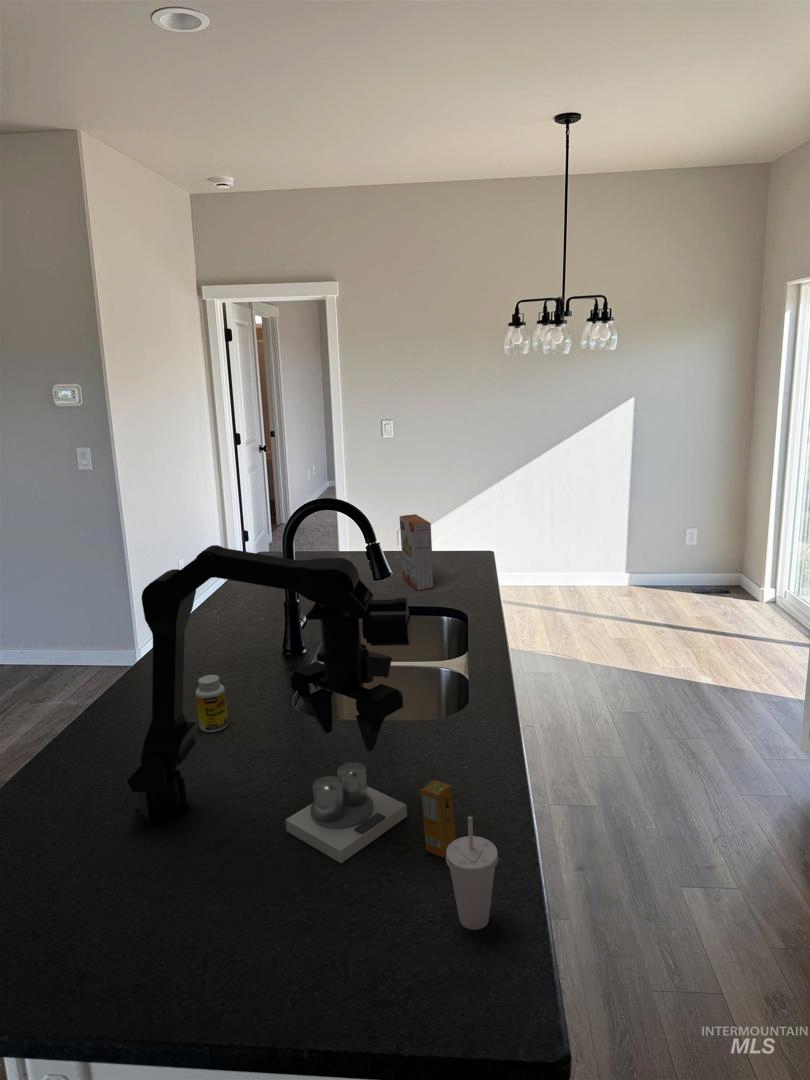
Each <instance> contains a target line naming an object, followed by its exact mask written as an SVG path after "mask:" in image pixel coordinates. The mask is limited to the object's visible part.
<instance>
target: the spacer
mask: <svg viewBox="0 0 810 1080" xmlns="http://www.w3.org/2000/svg"><path fill="white" fill-rule="evenodd" d="M312 793H313V802H314V807H315V817H316V819H317V820H318V821H320V822H324V823H331V822H335V821H338V820H340V819H341V818H342V817H343V816H344V799H343V785H342V780H341V779H339V778H338V776H333V775H332V776H331V775H329V776H321V777H319V778H318V779H315V780H314V782H313V784H312Z"/></svg>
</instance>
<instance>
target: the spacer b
mask: <svg viewBox="0 0 810 1080" xmlns="http://www.w3.org/2000/svg"><path fill="white" fill-rule="evenodd" d="M366 770H367V769H366V766H365V765H364V764H362V763H360V762H347V763H345V764H342V765H340V766H339V767H338V768H337V770H336V773H337V776H336V777H338V778H339V779H341V780H342V785H343V799H344V806H346V807H358V806H361V805H363V804H364V803H366V801H367V800H368V791H367V786H368V783H367V782H368V781H367V771H366Z"/></svg>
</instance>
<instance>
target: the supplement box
mask: <svg viewBox="0 0 810 1080" xmlns="http://www.w3.org/2000/svg"><path fill="white" fill-rule="evenodd" d="M420 792H421V793H420V794H421V806H422V816H423V817H422V818H423V828H424V829H423V831H424V839H425V849H426V850H425V851H426V852H428V853H431V854H433V855H435V856H437V857H440V858H442V859H444V858H446V850H447V847H448V846H449V844H450V843H452V842H453V841H454V840H456V839H457V838H456V829H455V828H456V827H455V826H456V825H455V816H454V800H453V789H452V785H451V784H447V783H444V782H441V781H439V780H435V779H434V780H432V781H431V782H429V783H428V784H427V785H425V786H424V787H423V788H422V789H420Z"/></svg>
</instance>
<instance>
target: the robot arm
mask: <svg viewBox="0 0 810 1080" xmlns="http://www.w3.org/2000/svg"><path fill="white" fill-rule="evenodd" d="M213 578H214V579H215V578H216V579H222V580H227V581H234V582H239V583H246V584H251V585H252V584H253V585H257V586H263V587H264V586H265V587H267V588H269V587H270V588H273V589H274V588H275V589H282V590H288V591H291V592H294V593H297V594H298V595H300V596H302V597H303V598H305V600H308V601H311V602H314V605H313V606H311V607H310V608H309V610H308V611H307V613H306V615H305V619H306V620H307V621H309V620H310V621H313V620H314V621H315V620H316V621H317V620H318V621H320V623H319V624H320V637H321V646H322V648H321V649H322V651H321V652H319V653H316V659H317V661H314V662H312V663H310V664H307V665H305V666H303V667H301V668H298V669H296V670H295V671H294V672H293V674H292V676H291V677H290V680H291V681H290V682H291V683H290V684H291V689H292V690H294V691H295V692H297V695H298V697H299V698H301V699H302V701H303V702H304V703H305V705H306V706H307V708H308V709H309V710H310V713H312V715H313V716H314V718H315V719H316V720H317V722H318V723H319V726H320V727H321V729H322V730H323V732H324V733H325V734H329V733H331V732H332V731H333V700H332V699H333V698H332V697H333V694H336V695H338V696H345V697H347V698H350V699H353V700H355V701H356V702H355V708H356V709H355V710H356V711H357V713H358V714H357V715H356V716H355V718H356V722H357V724H358V727H359V731H360V733H361V735H360V736H361V738H362V741H363V743H364V746H365V749H366V751H367V752H369V753H371V752H372V751H374V749H375V746H376V743H377V741H378V737H379V735H380V732H381V727H382V725H383V722H384V720H385V719H386V717H388V716H390V715H391V714H394V713H395V712H397V711H399V710H400V709H402V708H404V700H403V699H404V698H403V692H402V691H400V690H399V689H397V688H394V687H392V686H388V685H385V684H383V683H380V684H378V685H375V686H373V687H371V688H366V687H364V684H369V683H372V682H373V681H374V677H378V678H379V677H383V678H385V679H387V678H389V676H390V670H391V665H392V659H393V658H392V656H389V655H385V654H382V653H379V652H375V651H371V650H369V649H368V648H367V646H366V644H363V643H362V638H361V629H362V637H363V640H366V641H365V642H366V643H367V644H370V645H371V646H373V647H375V646H377V647H379V646H380V647H381V646H386V647H387V646H410V645H411V642H412V639H411V638H412V615H411V614H410V609H409V605H408V599H407V597H399V598H392V599H374V597H375V596H374V593H372V592H371V590H370V589H369V588H368V587H367V586H366V584H365V583H364V582H363V581H362V580H361V578H360V574H359V572H358V569H357V567H356V566H355V565H354V563H353V561H350V560H348V559H346V558H343V557H318V558H311V559H305V560H304V559H300V560H299V559H292V558H285V557H282V556H281V557H279V556H273V555H267V554H261V553H255V552H250V551H244V550H238V549H232V548H231V549H230V548H227V547H223V546H221V545H217V544H214V545H210V546H208V547H206V548H205V549H204V550H202V551H201V552H200V553H198V554H197V555H196V558H194V559H193V560H192V561H190V562H189V563H188V564H187V565H185V566H184V567H182V568H181V569H178V568H177V569H174V568H173V569H170V570H167V571H165V572H164V573H162V574H161V575H160V576H158V577H157V578H155V579H154V580H153V581H151V582H150V583H148V585H146V586H145V588H143V590H142V593H141V604H142V610H143V615H144V620H145V623H146V624H147V626H148V628H149V630H150V632H151V634H152V661H151V662H152V670H151V671H152V673H151V674H152V676H151V677H152V678H151V679H152V680H151V720H150V724H149V726H148V730H147V733H146V734H145V738H144V739H143V740H144V741H143V745H142V749H141V753H140V758H139V759H140V761H139V764H138V766H137V768H136V769H135V770H134V772H133V773H132V774H131V775H130V776H129V777H128V779H127V781H126V782H127V784H128V786H129V788H130V789H131V792H135V793H136V797H137V805H138V808H136V809H135V810H134V814H135V815H136V816H137V817H139V818H140V819H142V820H143V821H144V822H146V823H147V824H148V825H150V826H152V827H153V828H158V827H161V826H162V825H164V824H166V823H168V822H169V821H171V820H173V819H175V818H177V817H179V816H180V815H182V814H184V813H186V812H188V811H190V810H191V805H190V804H189V803H187V799H188V798H187V791H186V783H185V778H184V777H182V774H181V773H182V772H181V771H180V770H178V769H179V768H180V766H181V764H182V763H183V762H184V760H185V759H186V758H187V757H188V755H189V754H190V752H191V751H192V750H193V748H194V747H195V745H196V744H197V742H196V739H195V731H196V730H195V729H196V726H197V725H196V722H194V721H190V722H188V720H187V719H186V717H185V716H184V709H183V707H184V669H185V668H184V667H185V632H186V627H187V625H188V621H189V618H190V616H191V613H192V610H193V609H194V607H193V606H194V603H195V600H196V599H195V598H196V594H197V589H198V588H200V587H201V586H203V585H204V584H205V583H207V582H208V581H209V580H210V579H213ZM360 619H361V622H362V623H361V622H360ZM360 623H361V624H360ZM361 627H362V628H361Z"/></svg>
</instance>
